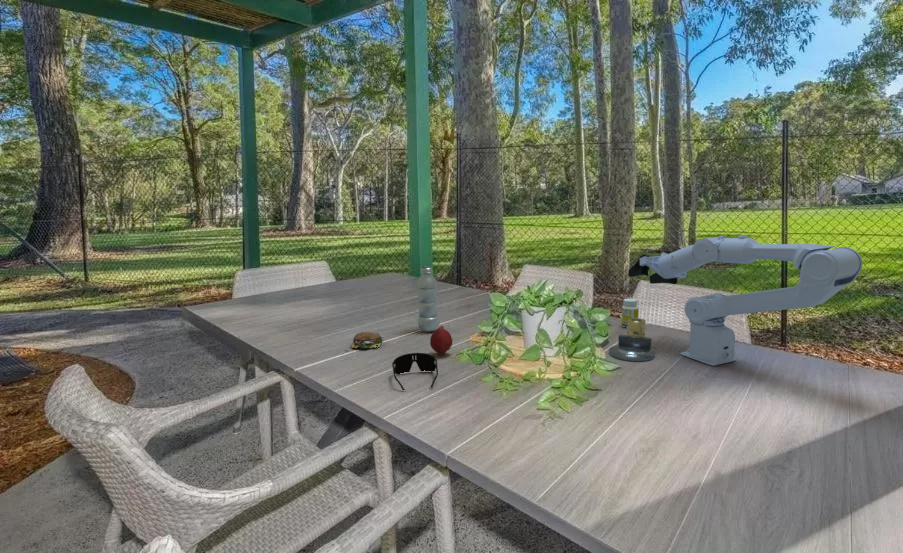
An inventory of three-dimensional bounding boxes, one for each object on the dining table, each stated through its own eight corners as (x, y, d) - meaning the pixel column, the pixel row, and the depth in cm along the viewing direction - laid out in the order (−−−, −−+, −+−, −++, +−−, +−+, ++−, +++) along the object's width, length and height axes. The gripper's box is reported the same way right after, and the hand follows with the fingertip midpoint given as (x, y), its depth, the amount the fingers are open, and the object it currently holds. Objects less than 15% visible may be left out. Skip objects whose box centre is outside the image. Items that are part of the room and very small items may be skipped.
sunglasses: (436, 370, 118) (436, 351, 117) (441, 395, 107) (441, 375, 106) (392, 373, 117) (391, 354, 116) (393, 399, 106) (392, 379, 104)
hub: (648, 342, 134) (649, 320, 133) (635, 344, 132) (636, 322, 131) (636, 337, 138) (636, 317, 137) (623, 340, 137) (624, 319, 136)
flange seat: (613, 345, 132) (613, 333, 131) (657, 350, 127) (657, 338, 126) (604, 358, 123) (605, 345, 122) (651, 364, 117) (652, 351, 117)
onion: (436, 359, 125) (435, 329, 124) (427, 353, 130) (425, 324, 129) (456, 355, 128) (455, 326, 127) (446, 349, 133) (445, 321, 132)
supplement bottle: (635, 324, 152) (636, 298, 150) (640, 328, 147) (640, 301, 146) (619, 324, 152) (620, 298, 151) (623, 328, 148) (624, 301, 146)
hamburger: (343, 342, 145) (341, 322, 144) (390, 340, 145) (389, 320, 144) (332, 357, 131) (330, 336, 130) (384, 355, 131) (383, 334, 130)
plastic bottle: (414, 333, 150) (411, 268, 147) (424, 327, 156) (421, 265, 153) (433, 334, 148) (431, 269, 144) (442, 328, 154) (440, 265, 150)
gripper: (699, 254, 128) (659, 270, 140) (657, 239, 123) (619, 256, 135) (701, 279, 126) (660, 293, 138) (658, 265, 121) (619, 280, 132)
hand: (640, 276), depth 136 cm, fingers open, 7 cm apart
